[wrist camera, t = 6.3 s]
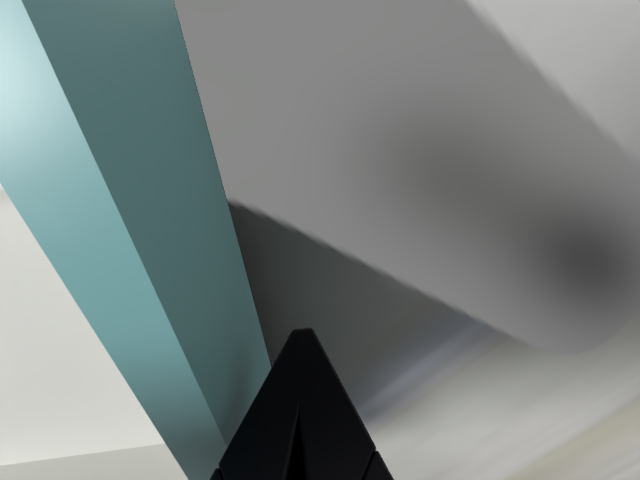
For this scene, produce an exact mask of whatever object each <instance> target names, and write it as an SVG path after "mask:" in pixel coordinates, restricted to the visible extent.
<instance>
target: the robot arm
mask: <svg viewBox="0 0 640 480" xmlns="http://www.w3.org/2000/svg"><path fill="white" fill-rule="evenodd" d="M218 467H219V468H216V469H215V470H214V472H213V474H212V476H211V477H210V479H209V480H394V479H393V477H392V475H391V474H390V472H389V470H388V468H387V466H386V465H385V463H384V461H383V459H382V457H381V455H380V453H379V452H378V451H376V446H375V444H374V443H373V441H372V439H371V437H370V435H369V433H368V431H367V429H366V428H365V426H364V424H363V422H362V420H361V418H360V416H359V415H358V413H357V411H356V409H355V407H354V405H353V403H352V401H351V400H350V398H349V396H348V394H347V392H346V390H345V388H344V386H343V385H342V383H341V381H340V379H339V377H338V375H337V373H336V371H335V370H334V368H333V366H332V364H331V362H330V360H329V358H328V357H327V355H326V353H325V351H324V349H323V347H322V345H321V343H320V342H319V340H318V338H317V336H316V334H315V332H314V330H313V329H312V328H303V329H295V330H293V331H292V332H291V334H290V336H289V337H288V339H287V341H286V343H285V345H284V346H283V348H282V350H281V352H280V354H279V355H278V357H277V359H276V361H275V363H274V364H273V366H272V368H271V370H270V372H269V373H268V375H267V377H266V379H265V381H264V382H263V384H262V386H261V388H260V390H259V391H258V393H257V395H256V397H255V399H254V400H253V402H252V404H251V406H250V408H249V409H248V411H247V413H246V415H245V417H244V418H243V420H242V422H241V424H240V426H239V427H238V429H237V431H236V433H235V435H234V436H233V438H232V440H231V442H230V444H229V445H228V447H227V449H226V451H225V453H224V454H223V456H222V458H221V460H220V462H219V464H218Z"/></svg>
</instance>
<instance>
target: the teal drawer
mask: <svg viewBox="0 0 640 480" xmlns="http://www.w3.org/2000/svg"><path fill="white" fill-rule="evenodd" d="M270 370H271V364H270V360H269V357H268V353H267V349H266V345H265V342H264V338H263V334H262V330H261V327H260V323H259V319H258V315H257V312H256V308H255V304H254V300H253V297H252V293H251V289H250V285H249V282H248V278H247V274H246V270H245V266H244V263H243V259H242V255H241V251H240V248H239V244H238V240H237V236H236V233H235V229H234V225H233V221H232V218H231V214H230V210H229V206H228V203H227V199H226V195H225V191H224V188H223V184H222V180H221V177H220V173H219V169H218V165H217V162H216V158H215V154H214V150H213V146H212V143H211V139H210V135H209V132H208V128H207V124H206V120H205V116H204V113H203V109H202V105H201V101H200V98H199V94H198V90H197V87H196V83H195V79H194V75H193V71H192V68H191V64H190V60H189V56H188V53H187V49H186V45H185V41H184V37H183V34H182V30H181V26H180V22H179V19H178V15H177V11H176V8H175V4H174V0H0V480H209V479H210V477H211V476H212V474H213V472H214V470H215V469H216V468H219V467H218V464H219V462H220V460H221V458H222V456H223V454H224V453H225V451H226V449H227V447H228V445H229V444H230V442H231V440H232V438H233V436H234V435H235V433H236V431H237V429H238V427H239V426H240V424H241V422H242V420H243V418H244V417H245V415H246V413H247V411H248V409H249V408H250V406H251V404H252V402H253V400H254V399H255V397H256V395H257V393H258V391H259V390H260V388H261V386H262V384H263V382H264V381H265V379H266V377H267V375H268V373H269V372H270Z"/></svg>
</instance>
